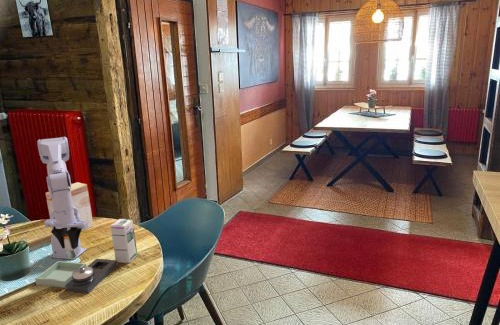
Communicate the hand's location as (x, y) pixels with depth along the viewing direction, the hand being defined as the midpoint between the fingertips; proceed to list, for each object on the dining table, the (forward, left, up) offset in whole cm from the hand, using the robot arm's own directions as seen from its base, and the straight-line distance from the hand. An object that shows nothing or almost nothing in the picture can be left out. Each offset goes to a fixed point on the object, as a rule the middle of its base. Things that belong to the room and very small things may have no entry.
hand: (70, 247), depth 127 cm
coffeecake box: (-23, +31, -11) cm, 40 cm away
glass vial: (0, 0, -3) cm, 3 cm away
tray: (-3, -2, -10) cm, 11 cm away
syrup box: (+12, +13, -11) cm, 21 cm away
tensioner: (+7, 0, -10) cm, 13 cm away
